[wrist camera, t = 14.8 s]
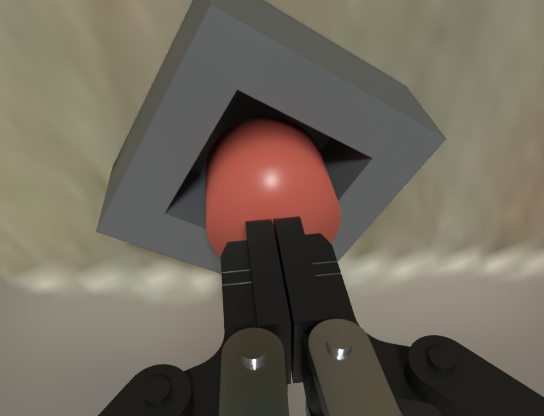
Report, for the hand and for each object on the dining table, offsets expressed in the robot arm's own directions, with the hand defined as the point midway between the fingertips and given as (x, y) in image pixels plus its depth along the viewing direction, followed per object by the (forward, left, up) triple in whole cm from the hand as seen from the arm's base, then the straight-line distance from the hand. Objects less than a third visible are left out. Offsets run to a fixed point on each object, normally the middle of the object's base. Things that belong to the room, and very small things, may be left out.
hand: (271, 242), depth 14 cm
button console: (0, 0, -7) cm, 7 cm away
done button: (0, 0, -4) cm, 4 cm away
